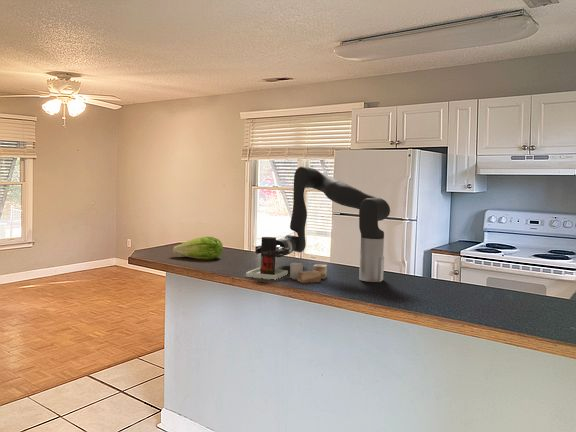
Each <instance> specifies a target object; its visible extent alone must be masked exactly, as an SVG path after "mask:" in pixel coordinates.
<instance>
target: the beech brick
mask: <svg viewBox="0 0 576 432" xmlns="http://www.w3.org/2000/svg"><path fill="white" fill-rule="evenodd" d="M299 281H300V282H299ZM297 282H299V283H302V284H308V283H309V282H310V283H319V282H321V272H319V271H316V270H313V269H312V270H303V271H300V272H298V279H297Z"/></svg>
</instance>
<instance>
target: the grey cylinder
mask: <svg viewBox="0 0 576 432" xmlns="http://www.w3.org/2000/svg"><path fill="white" fill-rule="evenodd" d="M289 266H290V267H289V279H290V278H292V279H291V280H298V272H300V271H304V269H303V267H304V263H301V262H290V265H289Z"/></svg>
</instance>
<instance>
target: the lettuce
mask: <svg viewBox="0 0 576 432" xmlns="http://www.w3.org/2000/svg"><path fill="white" fill-rule="evenodd" d="M172 251H173V252H172V253H174V254H176V255H180V256H183V257H186V258H192V259H197V260H213V259H216V258H219V257H220V256H221V255H222V254H223V251H224V249H223V242H222V241H221V240H220V239H219V238H215V237H214V236H204V237H197V238H193V239H190V240H187V241H185V242H183V243H180V244H178V245H176V246H173V248H172Z"/></svg>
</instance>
